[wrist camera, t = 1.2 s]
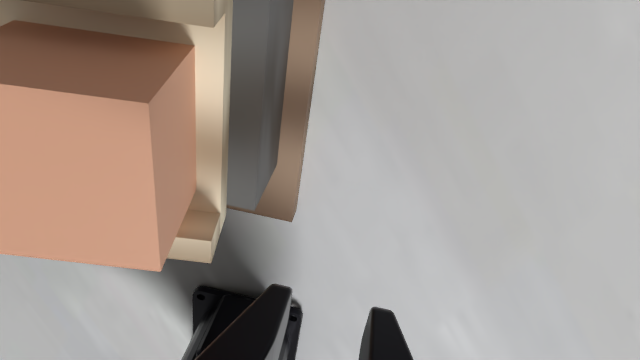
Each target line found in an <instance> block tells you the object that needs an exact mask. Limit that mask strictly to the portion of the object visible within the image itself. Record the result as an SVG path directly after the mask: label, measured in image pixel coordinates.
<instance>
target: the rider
mask: <svg viewBox="0 0 640 360" xmlns="http://www.w3.org/2000/svg"><path fill="white" fill-rule="evenodd" d="M195 191H196V106H195V46H194V45H187V44H180V43H173V42H166V41H159V40H152V39H145V38H138V37H131V36H123V35H116V34H109V33H102V32H95V31H88V30H81V29H74V28H67V27H60V26H53V25H46V24H39V23H32V22H25V21H18V20H13V21H11V22H9V23H7V24H4V25H2V26H0V254H7V255H16V256H25V257H34V258H43V259H51V260H60V261H69V262H78V263H87V264H96V265H105V266H114V267H123V268H132V269H140V270H149V271H158V272H161V270H162V268H163V265H164V263H165V261H166V258H167V256H168V254H169V251H170V249H171V247H172V244H173V242H174V240H175V237H176V235H177V233H178V230H179V228H180V226H181V223H182V221H183V219H184V216H185V214H186V212H187V209H188V207H189V205H190V202H191V200H192V198H193V195H194V193H195Z"/></svg>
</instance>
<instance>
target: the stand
mask: <svg viewBox="0 0 640 360" xmlns="http://www.w3.org/2000/svg"><path fill="white" fill-rule="evenodd" d="M324 4H325V0H233V15H232V46H231V78H230V109H229V140H228V171H227V202H226V208H230V209H234V210H239V211H244V212H248V213H253V214H257V215H262V216H266V217H271V218H276V219H280V220H285V221H289V222H292V220H293V217H294V215H295V212H296V208H297V200H298V193H299V186H300V178H301V171H302V164H303V157H304V149H305V142H306V135H307V128H308V120H309V113H310V106H311V99H312V91H313V84H314V77H315V70H316V62H317V55H318V48H319V40H320V33H321V26H322V19H323V11H324Z"/></svg>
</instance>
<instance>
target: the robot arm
mask: <svg viewBox="0 0 640 360" xmlns="http://www.w3.org/2000/svg"><path fill="white" fill-rule="evenodd" d="M291 299H292V289H291V288H290V287H287V286H283V285H278V284H272V285H270V286H269V287H268V288H267V289H266V290H265V291H264V292H263V293H262V294H261V295H260V296H259V297H258V298H257V299H256V298H252V297H248V296H243V295H239V294H235V293H231V292H226V291H222V290H218V289H213V288H209V287H205V286H198V287H197V288H196V289H195V291H194V293H193V337H192V339H191V341H190V343H189V345H188V347H187V350H186V352H185V354H184V356H183V358H182V360H295V357H296V351H297V346H298V340H299V334H300V328H301V323H302V317H303V313H302V311H301V310H300V309H298V308H295V307H291V306H290V305H291ZM359 360H413V357H412V355H411V353H410V350H409V348H408V346H407V343H406V341H405V339H404V336H403V334H402V331H401V329H400V327H399V324H398V322H397V320H396V317H395V315H394V313H393V312H392V311H391V310H387V309H383V308H379V307H372V308H371V310H370V313H369V316H368V319H367V323H366V326H365V330H364V333H363V337H362V342H361V348H360V354H359Z"/></svg>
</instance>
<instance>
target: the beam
mask: <svg viewBox="0 0 640 360" xmlns="http://www.w3.org/2000/svg"><path fill="white" fill-rule="evenodd" d="M232 15H233V0H0V26H2V25H4V24H7V23H9V22H11V21H13V20H18V21H25V22H32V23H39V24H46V25H53V26H60V27H67V28H74V29H81V30H88V31H95V32H102V33H109V34H116V35H123V36H131V37H138V38H145V39H152V40H159V41H166V42H173V43H180V44H187V45H194V46H195V106H196V191H195V193H194V195H193V198H192V200H191V202H190V205H189V207H188V209H187V212H186V214H185V216H184V219H183V221H182V223H181V226H180V228H179V230H178V233H177V235H176V237H175V240H174V242H173V244H172V247H171V249H170V251H169V254H168V256H167V258H168V259H177V260H186V261H195V262H204V263H211V262H212V259H213V256H214V252H215V249H216V246H217V243H218V239H219V236H220V233H221V230H222V227H223V223H224V220H225V217H226V202H227V171H228V140H229V109H230V78H231V46H232Z"/></svg>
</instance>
